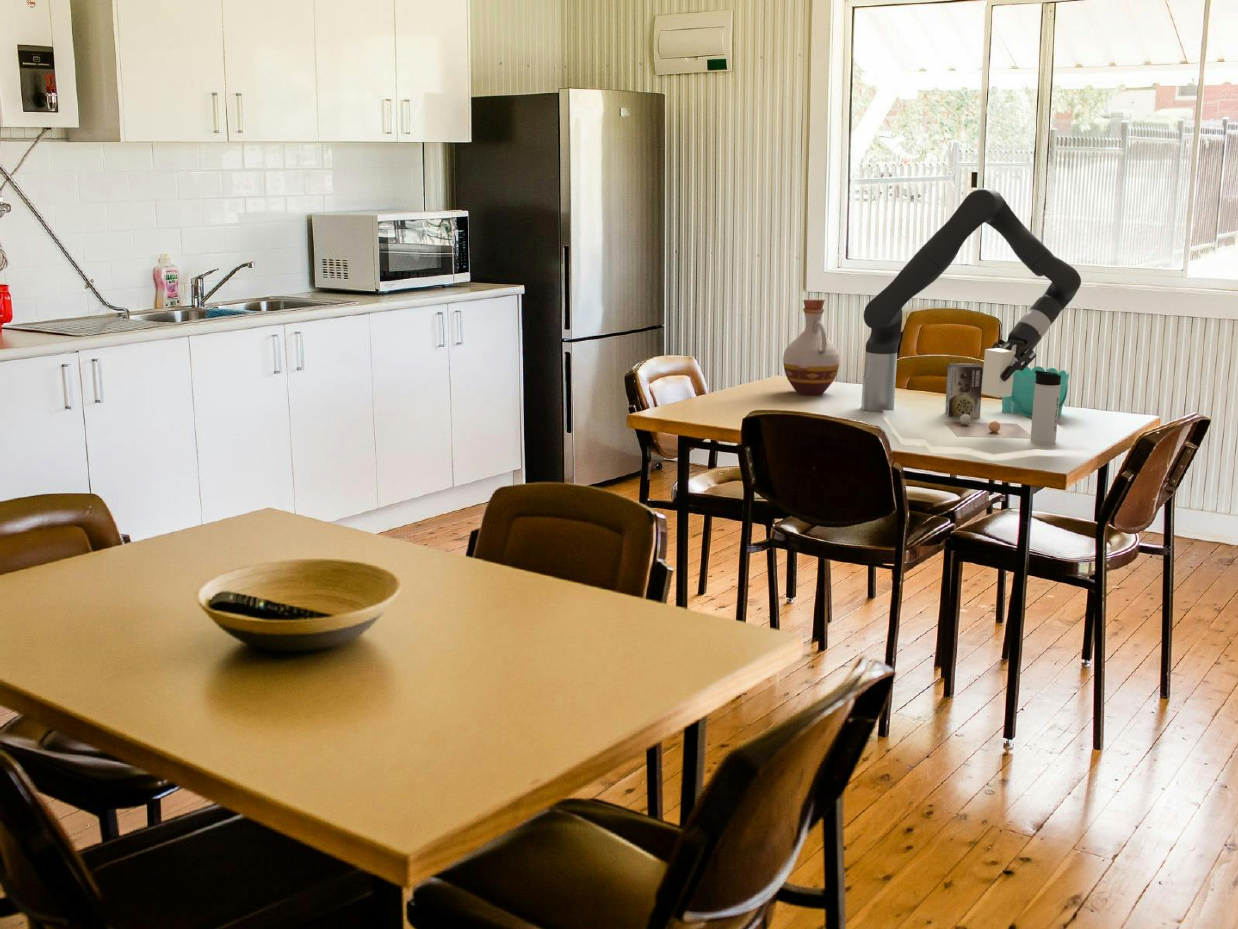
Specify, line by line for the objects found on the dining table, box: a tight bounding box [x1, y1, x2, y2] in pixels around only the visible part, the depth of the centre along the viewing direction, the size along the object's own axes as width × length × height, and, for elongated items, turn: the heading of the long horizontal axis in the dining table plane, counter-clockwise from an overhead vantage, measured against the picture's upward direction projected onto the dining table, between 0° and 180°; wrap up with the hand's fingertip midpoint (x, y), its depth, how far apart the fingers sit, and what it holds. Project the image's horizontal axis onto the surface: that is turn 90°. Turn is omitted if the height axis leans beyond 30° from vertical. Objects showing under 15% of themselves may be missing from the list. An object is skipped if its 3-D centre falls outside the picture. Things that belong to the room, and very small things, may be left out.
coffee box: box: [944, 362, 984, 419], centre depth 370 cm, size 9×6×16 cm
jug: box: [782, 298, 841, 396], centre depth 409 cm, size 20×18×30 cm
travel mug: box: [1029, 370, 1061, 445], centre depth 335 cm, size 6×7×20 cm
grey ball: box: [959, 414, 972, 425], centre depth 357 cm, size 3×3×3 cm
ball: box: [989, 420, 1000, 432], centre depth 347 cm, size 3×3×3 cm
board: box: [943, 421, 1031, 439], centre depth 351 cm, size 20×20×2 cm
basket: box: [1001, 365, 1070, 419], centre depth 382 cm, size 19×18×13 cm
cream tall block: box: [981, 348, 1016, 399], centre depth 344 cm, size 5×6×12 cm
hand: (993, 377), depth 344 cm, fingers closed on cream tall block, 6 cm apart
